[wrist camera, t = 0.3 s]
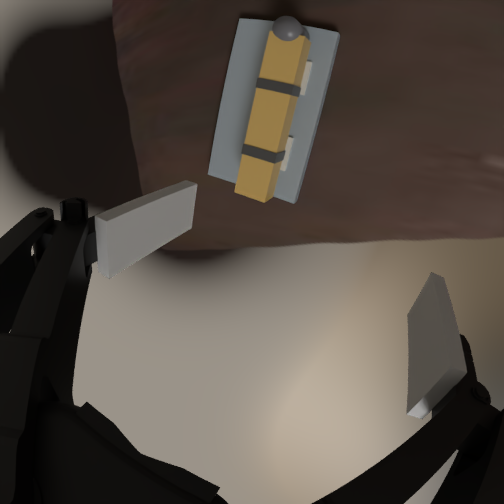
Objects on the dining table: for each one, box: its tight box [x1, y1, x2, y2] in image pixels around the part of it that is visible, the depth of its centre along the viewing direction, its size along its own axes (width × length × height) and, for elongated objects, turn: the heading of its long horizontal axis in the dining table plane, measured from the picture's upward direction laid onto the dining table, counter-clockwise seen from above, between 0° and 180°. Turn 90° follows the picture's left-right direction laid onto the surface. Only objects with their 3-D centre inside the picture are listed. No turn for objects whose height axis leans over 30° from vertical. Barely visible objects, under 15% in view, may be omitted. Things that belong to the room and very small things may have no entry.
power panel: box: [208, 18, 340, 204], centre depth 35 cm, size 23×13×2 cm, turn 167°
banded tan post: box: [235, 16, 311, 203], centre depth 31 cm, size 22×4×5 cm, turn 167°
